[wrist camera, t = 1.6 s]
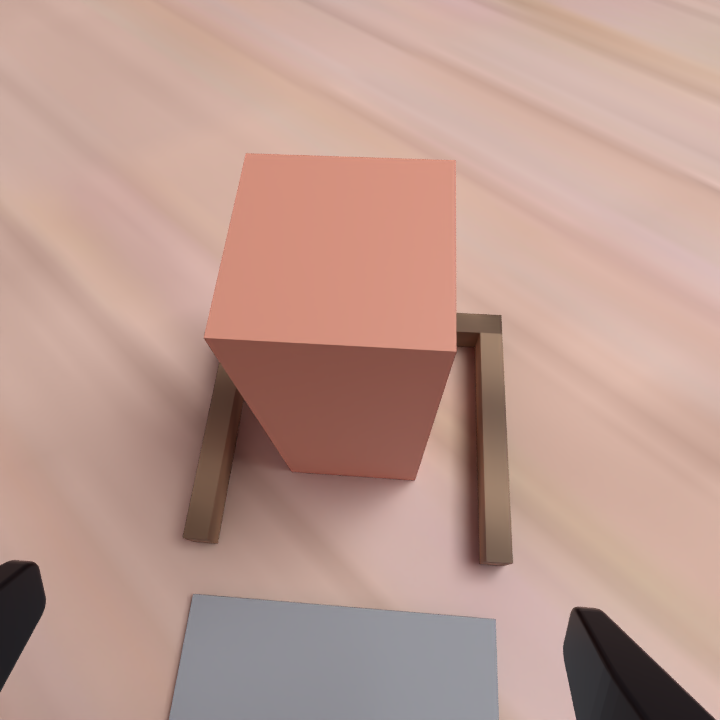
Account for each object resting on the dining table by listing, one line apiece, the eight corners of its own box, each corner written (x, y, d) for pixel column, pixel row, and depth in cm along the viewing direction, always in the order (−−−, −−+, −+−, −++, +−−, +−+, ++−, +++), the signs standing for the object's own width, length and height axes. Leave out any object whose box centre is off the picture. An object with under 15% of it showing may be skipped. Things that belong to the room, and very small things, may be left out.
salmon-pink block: (414, 480, 23) (456, 351, 11) (291, 471, 23) (203, 337, 11) (418, 367, 25) (455, 160, 13) (306, 360, 25) (245, 153, 14)
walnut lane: (504, 565, 21) (512, 563, 20) (194, 541, 22) (182, 538, 20) (494, 330, 26) (501, 315, 24) (239, 316, 26) (231, 301, 25)
